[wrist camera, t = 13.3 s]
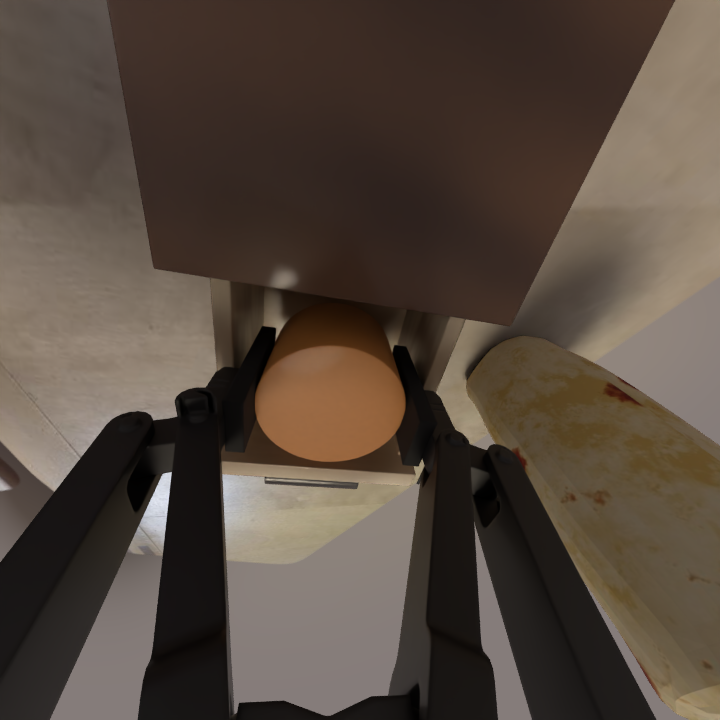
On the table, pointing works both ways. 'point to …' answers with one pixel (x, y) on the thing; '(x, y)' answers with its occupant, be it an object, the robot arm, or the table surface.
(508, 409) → the food model
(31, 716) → the robot arm
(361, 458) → the drawer
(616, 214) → the table surface
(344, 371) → the orange cylinder puck
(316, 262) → the cabinet
